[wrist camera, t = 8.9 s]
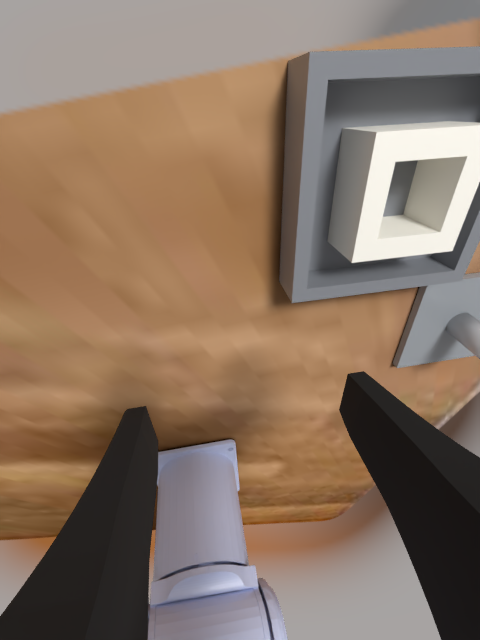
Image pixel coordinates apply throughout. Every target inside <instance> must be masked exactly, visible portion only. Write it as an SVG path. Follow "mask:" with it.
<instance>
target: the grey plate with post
mask: <svg viewBox="0 0 480 640" xmlns="http://www.w3.org/2000/svg"><path fill="white" fill-rule="evenodd" d="M469 356H476V357H478V358H479V359H480V272H479V273H471V274H464V277H463V279H462V281H460V282H452V283H444V284H436V285H429V286H421V287H419V290H418V293H417V296H416V299H415V302H414V304H413V307H412V310H411V313H410V316H409V318H408V321H407V324H406V327H405V330H404V333H403V335H402V338H401V341H400V344H399V347H398V349H397V352H396V355H395V358H394V361H393V364H394V365H395V367H396V368H401V367H407V366H413V365H419V364H426V363H432V362H438V361H444V360H451V359H457V358H463V357H469Z"/></svg>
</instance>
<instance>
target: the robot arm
mask: <svg viewBox="0 0 480 640" xmlns="http://www.w3.org/2000/svg"><path fill="white" fill-rule="evenodd" d="M339 410H340V413H341V416H342V418H343V421H344V423H345V426H346V428H347V431H348V433H349V436H350V438H351V440H352V441H353V443H354V445H355V447H356V449H357V451H358V453H359V454H360V456H361V458H362V460H363V462H364V464H365V465H366V467H367V469H368V471H369V473H370V475H371V476H372V478H373V480H374V482H375V484H376V486H377V487H378V489H379V491H380V493H381V494H382V496H383V498H384V500H385V502H386V504H387V506H388V508H389V510H390V513H391V515H392V517H393V519H394V521H395V524H396V526H397V528H398V531H399V533H400V535H401V538H402V540H403V542H404V545H405V547H406V549H407V552H408V554H409V557H410V559H411V561H412V564H413V566H414V569H415V571H416V573H417V576H418V579H419V581H420V584H421V586H422V589H423V591H424V594H425V597H426V599H427V602H428V604H429V607H430V609H431V612H432V615H433V618H434V620H435V623H436V625H437V629H438V632H439V634H440V637H441V640H480V458H479V457H478V456H476V455H475V454H473V453H471V452H469V451H468V450H467V449H465V448H464V447H462V446H461V445H459V444H458V443H456V442H455V441H453V440H452V439H451V438H449V437H448V436H446V435H445V434H444V433H442V432H441V431H439V430H438V429H436V428H435V427H434V426H432V425H431V424H430V423H428V422H427V421H426V420H424V419H423V418H422V417H420V416H419V415H418V414H416V413H415V412H414V411H413V410H411V409H410V408H409V407H407V406H406V405H405V404H404V403H402V402H401V401H400V400H399V399H397V398H396V397H395V396H394V395H392V394H391V393H390V392H389V391H387V390H386V389H385V388H384V387H382V386H381V385H380V384H379V383H378V382H376V381H375V380H374V379H373V378H371V377H370V376H369V375H368V374H366V373H365V372H364V371H363V372H357V373H351V374H348V376H347V380H346V384H345V388H344V392H343V397H342V401H341V405H340V409H339ZM157 485H158V500H157V519H156V538H155V557H154V576H153V582H152V583H151V596H150V604H149V598H148V587H149V586H148V585H149V558H150V545H151V535H152V526H153V517H154V507H155V498H156V488H157ZM238 491H239V477H238V466H237V454H236V444H235V441H234V440H232V439H229V440H224V441H218V442H212V443H207V444H201V445H195V446H190V447H184V448H179V449H173V450H167V451H162V452H158V440H157V437H156V434H155V431H154V428H153V425H152V422H151V420H150V417H149V414H148V411H147V408H146V406H144V407H138V408H132V409H127V410H126V411H125V412H124V415H123V417H122V419H121V422H120V424H119V426H118V428H117V430H116V433H115V435H114V437H113V439H112V441H111V443H110V445H109V447H108V449H107V451H106V453H105V455H104V457H103V459H102V461H101V462H100V464H99V466H98V468H97V470H96V472H95V474H94V476H93V478H92V479H91V481H90V483H89V485H88V486H87V488H86V490H85V492H84V493H83V495H82V497H81V498H80V500H79V502H78V503H77V505H76V507H75V509H74V510H73V512H72V514H71V515H70V517H69V518H68V520H67V522H66V523H65V525H64V526H63V528H62V530H61V531H60V533H59V534H58V536H57V537H56V539H55V540H54V542H53V543H52V545H51V546H50V548H49V549H48V551H47V552H46V554H45V555H44V557H43V558H42V560H41V561H40V562H39V564H38V565H37V567H36V568H35V570H34V571H33V573H32V574H31V575H30V577H29V578H28V579H27V581H26V582H25V584H24V585H23V586H22V588H21V589H20V591H19V592H18V593H17V595H16V596H15V597H14V599H13V600H12V601H11V603H10V604H9V605H8V607H7V608H6V609H5V611H4V612H3V614H2V615H1V616H0V640H288V639H287V633H286V628H285V623H284V619H283V615H282V611H281V608H280V605H279V602H278V599H277V597H276V594H275V592H274V591H273V589H272V588H271V587H270V586H269V585H268V583H267V582H266V581H265V580H264V579H263V578H259V579H257V574H256V568H255V566H254V565H252V566H249V563H248V556H247V550H246V543H245V537H244V530H243V524H242V517H241V511H240V505H239V498H238Z"/></svg>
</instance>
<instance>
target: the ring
mask: <svg viewBox="0 0 480 640" xmlns="http://www.w3.org/2000/svg"><path fill="white" fill-rule="evenodd" d="M412 160H418V162H417V166H416V170H415V173H414V177H413V181H412V184H411V188H410V192H409V195H408V199H407V203H406V206H405V210H404V214H403V215H396V216H386V217H383V214H384V209H385V205H386V201H387V196H388V192H389V188H390V184H391V179H392V175H393V171H394V166H395V162H400V161H412ZM479 182H480V123H477V122H455V121H444V122H429V123H414V124H398V125H383V126H367V127H352V128H342V135H341V142H340V150H339V157H338V165H337V173H336V180H335V188H334V195H333V203H332V210H331V218H330V226H329V233H328V242H329V243H330V244H331V245H332V246H333V247H334V248H336V249H337V250H338V251H339V252H340V253H341V254H342V255H343V256H345V257H346V258H347V259H348V260H349V261H350V262H351V263H356V262H364V261H373V260H381V259H390V258H398V257H407V256H415V255H423V254H432V253H440V252H449V251H453V248H454V246H455V243H456V241H457V238H458V236H459V233H460V230H461V228H462V225H463V223H464V220H465V218H466V215H467V213H468V210H469V208H470V205H471V203H472V200H473V197H474V195H475V192H476V190H477V187H478V185H479Z"/></svg>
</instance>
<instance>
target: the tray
mask: <svg viewBox="0 0 480 640" xmlns="http://www.w3.org/2000/svg"><path fill="white" fill-rule="evenodd" d="M444 121H455V122H477V123H480V47H449V48H417V49H385V50H353V51H320V52H308V53H306V54H304V55H301V56H299V57H297V58H294V59H292V60H290V61H288V77H287V102H286V127H285V152H284V176H283V201H282V226H281V251H280V276H279V282H280V284H281V285H282V287H283V289H284V291H285V292H286V294H287V296H288V297H289V299H290V301H291V302H292V303H296V302H304V301H312V300H320V299H328V298H335V297H343V296H351V295H359V294H366V293H374V292H382V291H390V290H398V289H405V288H413V287H421V286H429V285H436V284H444V283H452V282H460V281H462V279H463V277H464V274H465V272H466V270H467V268H468V265H469V263H470V261H471V259H472V256H473V254H474V252H475V250H476V247H477V245H478V243H479V241H480V182H479V185H478V187H477V190H476V192H475V195H474V197H473V200H472V203H471V205H470V208H469V210H468V213H467V215H466V218H465V220H464V223H463V225H462V228H461V230H460V233H459V236H458V238H457V241H456V243H455V246H454V248H453V251H449V252H440V253H432V254H423V255H415V256H407V257H398V258H390V259H381V260H373V261H364V262H356V263H351V262H350V261H349V260H348V259H347V258H346V257H345V256H343V255H342V254H341V253H340V252H339V251H338V250H337V249H336V248H334V247H333V246H332V245H331V244H330V243H329V242H328V233H329V226H330V218H331V210H332V203H333V195H334V188H335V180H336V173H337V165H338V157H339V150H340V142H341V135H342V128H352V127H367V126H383V125H398V124H414V123H429V122H444ZM417 162H418V160H412V161H400V162H395V166H394V171H393V175H392V179H391V184H390V188H389V192H388V196H387V201H386V205H385V209H384V214H383V217H386V216H396V215H403V214H404V210H405V206H406V203H407V199H408V195H409V192H410V188H411V184H412V181H413V177H414V173H415V170H416V166H417Z"/></svg>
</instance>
